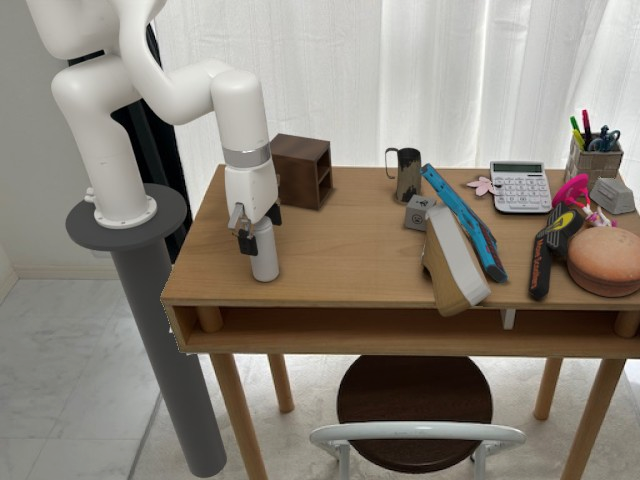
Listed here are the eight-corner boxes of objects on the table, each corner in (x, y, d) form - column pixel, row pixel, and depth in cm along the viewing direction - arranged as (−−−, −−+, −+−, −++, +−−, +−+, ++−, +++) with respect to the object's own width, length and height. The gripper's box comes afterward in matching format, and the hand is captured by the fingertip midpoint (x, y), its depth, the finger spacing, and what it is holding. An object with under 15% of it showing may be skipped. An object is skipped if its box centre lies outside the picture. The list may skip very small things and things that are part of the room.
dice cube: (428, 232, 128) (429, 211, 124) (405, 227, 129) (406, 206, 126) (435, 219, 131) (436, 199, 128) (413, 214, 133) (413, 194, 129)
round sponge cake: (572, 210, 121) (562, 255, 126) (572, 246, 108) (561, 294, 113) (656, 221, 118) (642, 267, 124) (665, 260, 105) (650, 309, 111)
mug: (420, 191, 140) (422, 142, 132) (421, 204, 136) (423, 155, 128) (385, 191, 140) (385, 142, 132) (385, 204, 136) (385, 155, 128)
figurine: (556, 186, 127) (606, 236, 121) (592, 166, 129) (642, 215, 123) (547, 214, 135) (592, 263, 129) (580, 195, 138) (627, 242, 132)
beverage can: (251, 270, 118) (241, 217, 110) (276, 265, 119) (268, 212, 111) (256, 285, 114) (246, 232, 106) (282, 280, 116) (274, 227, 108)
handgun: (499, 289, 116) (488, 242, 127) (512, 281, 114) (499, 235, 126) (422, 211, 104) (417, 168, 115) (435, 201, 103) (429, 158, 114)
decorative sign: (537, 215, 131) (578, 190, 125) (543, 222, 132) (584, 198, 126) (528, 293, 111) (576, 267, 105) (535, 301, 112) (583, 276, 106)
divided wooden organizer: (267, 201, 136) (260, 151, 128) (284, 181, 142) (278, 132, 134) (318, 210, 133) (314, 160, 125) (333, 189, 140) (330, 141, 132)
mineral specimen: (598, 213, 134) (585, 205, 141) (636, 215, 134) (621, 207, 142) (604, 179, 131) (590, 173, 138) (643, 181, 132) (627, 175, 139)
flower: (494, 199, 135) (493, 205, 136) (517, 181, 141) (516, 187, 142) (457, 184, 139) (456, 190, 141) (481, 167, 146) (480, 173, 147)
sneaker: (439, 185, 122) (396, 211, 124) (475, 270, 100) (422, 300, 102) (462, 221, 128) (420, 245, 130) (500, 308, 106) (450, 336, 108)
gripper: (250, 125, 107) (264, 210, 118) (198, 173, 94) (219, 263, 105) (290, 131, 105) (300, 216, 116) (243, 181, 92) (259, 271, 104)
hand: (262, 238), depth 111 cm, fingers open, 9 cm apart
